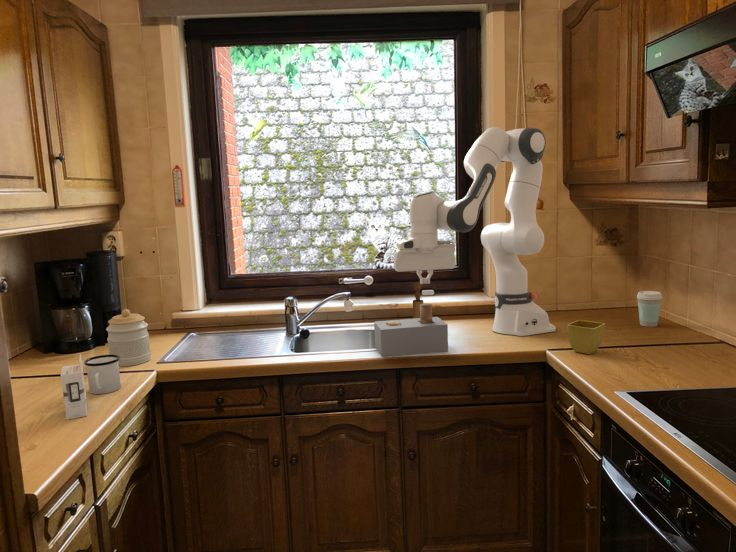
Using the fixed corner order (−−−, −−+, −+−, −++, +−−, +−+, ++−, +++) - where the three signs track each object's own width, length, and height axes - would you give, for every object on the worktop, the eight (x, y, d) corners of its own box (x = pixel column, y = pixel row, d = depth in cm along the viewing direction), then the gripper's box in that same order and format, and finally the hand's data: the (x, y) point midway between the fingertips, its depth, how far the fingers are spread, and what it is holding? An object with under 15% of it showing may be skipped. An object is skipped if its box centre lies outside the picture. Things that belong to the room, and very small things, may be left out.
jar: (147, 365, 199) (142, 311, 197) (105, 368, 197) (99, 314, 195) (154, 354, 212) (149, 304, 209) (114, 357, 210) (109, 306, 207)
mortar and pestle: (427, 331, 228) (426, 283, 226) (410, 332, 228) (408, 284, 226) (426, 327, 235) (425, 280, 232) (409, 327, 235) (408, 281, 232)
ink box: (66, 409, 161) (60, 355, 159) (87, 406, 163) (81, 352, 161) (65, 420, 154) (58, 363, 152) (87, 416, 156) (80, 360, 153)
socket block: (438, 342, 212) (437, 316, 211) (448, 351, 201) (447, 324, 199) (375, 347, 209) (374, 321, 208) (381, 357, 197) (380, 329, 196)
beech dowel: (399, 346, 206) (398, 321, 205) (401, 349, 202) (401, 323, 201) (387, 347, 206) (386, 322, 204) (389, 350, 202) (388, 324, 200)
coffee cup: (642, 321, 230) (642, 289, 228) (665, 324, 224) (666, 291, 222) (631, 325, 225) (632, 293, 223) (655, 328, 218) (656, 295, 217)
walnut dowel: (430, 328, 207) (430, 303, 206) (434, 331, 203) (433, 305, 202) (419, 329, 206) (418, 304, 205) (422, 332, 202) (421, 306, 201)
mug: (92, 385, 180) (89, 355, 179) (126, 382, 182) (123, 353, 180) (80, 399, 169) (76, 367, 167) (116, 396, 170) (113, 364, 169)
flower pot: (605, 350, 194) (605, 322, 193) (593, 357, 188) (594, 328, 187) (578, 346, 200) (578, 319, 199) (566, 352, 194) (566, 324, 193)
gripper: (452, 239, 205) (452, 280, 207) (391, 242, 202) (393, 284, 204) (457, 240, 199) (458, 283, 201) (395, 244, 196) (396, 287, 198)
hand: (425, 283), depth 202 cm, fingers closed
